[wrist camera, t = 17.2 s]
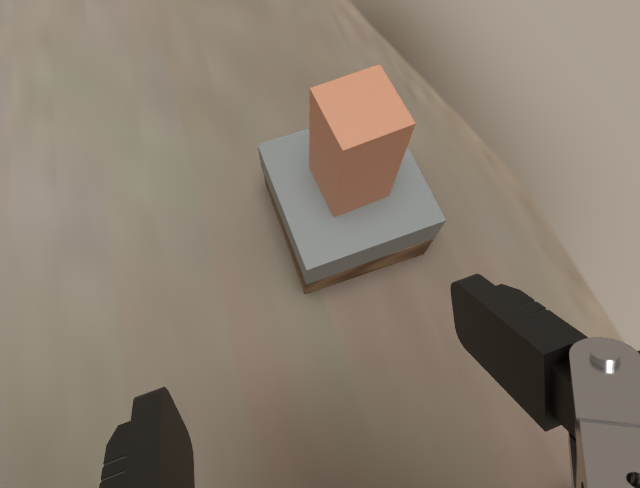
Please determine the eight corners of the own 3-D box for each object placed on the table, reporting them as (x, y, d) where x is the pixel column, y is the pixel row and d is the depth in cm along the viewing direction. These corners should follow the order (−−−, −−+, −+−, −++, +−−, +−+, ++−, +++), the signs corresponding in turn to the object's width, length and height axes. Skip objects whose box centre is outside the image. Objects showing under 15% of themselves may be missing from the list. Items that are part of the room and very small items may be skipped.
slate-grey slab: (306, 284, 40) (306, 270, 36) (261, 168, 44) (257, 144, 40) (433, 238, 42) (445, 220, 38) (379, 130, 46) (386, 104, 42)
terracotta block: (333, 217, 38) (342, 150, 28) (309, 167, 39) (309, 88, 30) (389, 195, 39) (415, 123, 29) (362, 147, 40) (379, 64, 31)
